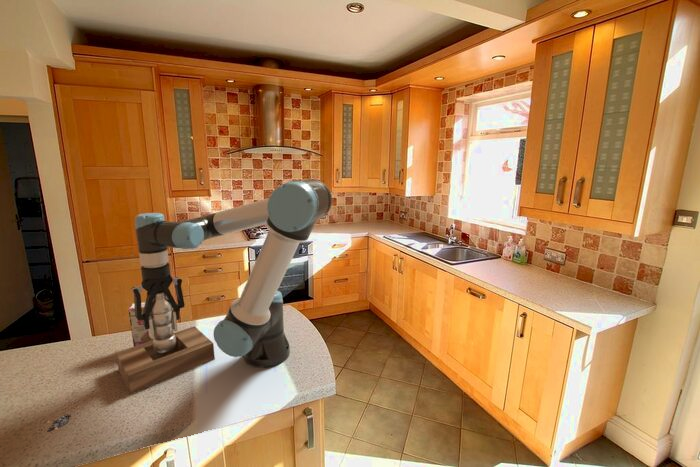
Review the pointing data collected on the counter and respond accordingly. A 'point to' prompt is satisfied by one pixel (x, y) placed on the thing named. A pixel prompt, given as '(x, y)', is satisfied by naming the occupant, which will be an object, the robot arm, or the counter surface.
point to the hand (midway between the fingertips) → (163, 333)
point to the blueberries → (59, 422)
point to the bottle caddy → (163, 359)
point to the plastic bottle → (162, 323)
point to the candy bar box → (138, 327)
